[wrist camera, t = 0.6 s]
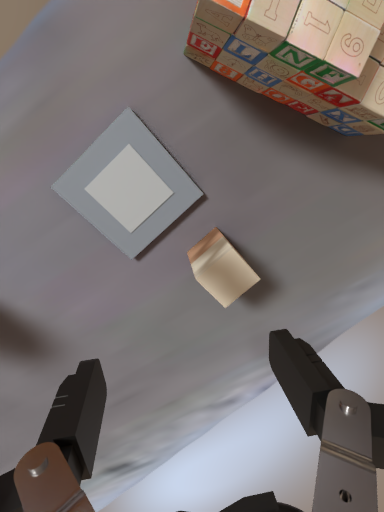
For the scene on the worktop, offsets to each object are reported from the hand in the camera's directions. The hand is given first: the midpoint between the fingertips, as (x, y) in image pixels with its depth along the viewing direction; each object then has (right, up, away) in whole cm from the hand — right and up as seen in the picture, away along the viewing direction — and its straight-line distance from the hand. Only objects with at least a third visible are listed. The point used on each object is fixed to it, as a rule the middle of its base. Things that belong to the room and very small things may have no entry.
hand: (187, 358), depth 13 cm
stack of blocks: (+10, +25, +17) cm, 32 cm away
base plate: (-7, +13, +19) cm, 24 cm away
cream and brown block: (+3, +5, +23) cm, 24 cm away
